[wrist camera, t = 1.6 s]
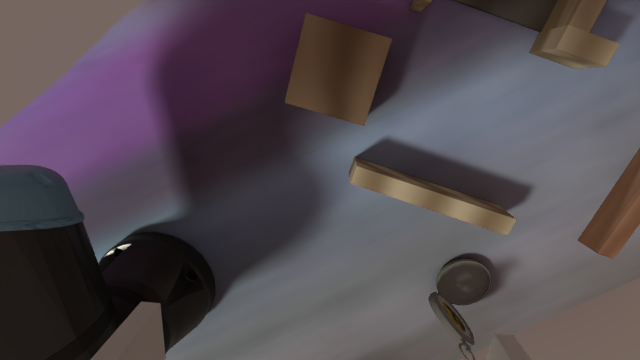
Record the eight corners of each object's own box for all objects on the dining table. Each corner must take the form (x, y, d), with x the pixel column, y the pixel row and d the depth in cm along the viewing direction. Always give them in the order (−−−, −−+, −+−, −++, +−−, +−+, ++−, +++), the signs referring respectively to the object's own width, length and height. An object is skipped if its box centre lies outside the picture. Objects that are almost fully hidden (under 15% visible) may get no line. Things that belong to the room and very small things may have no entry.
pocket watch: (495, 261, 39) (546, 320, 29) (473, 315, 41) (514, 384, 32) (431, 249, 39) (462, 304, 29) (413, 304, 41) (436, 370, 32)
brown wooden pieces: (340, 170, 36) (341, 180, 32) (439, -101, 28) (455, -130, 24) (588, 252, 38) (616, 271, 34) (750, 18, 29) (812, 8, 26)
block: (291, 99, 34) (284, 102, 29) (310, 23, 32) (305, 12, 27) (360, 119, 34) (364, 125, 30) (384, 45, 32) (392, 38, 27)
